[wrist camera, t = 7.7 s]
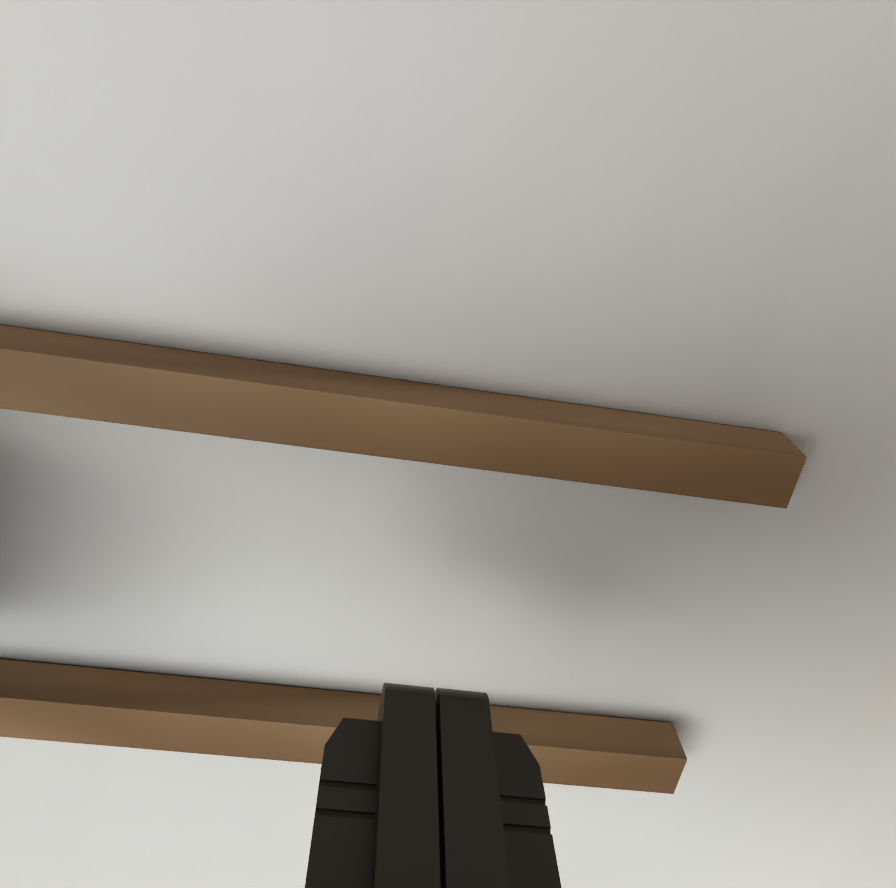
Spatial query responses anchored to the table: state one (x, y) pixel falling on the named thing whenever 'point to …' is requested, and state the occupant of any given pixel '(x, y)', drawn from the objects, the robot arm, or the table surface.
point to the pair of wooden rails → (370, 433)
